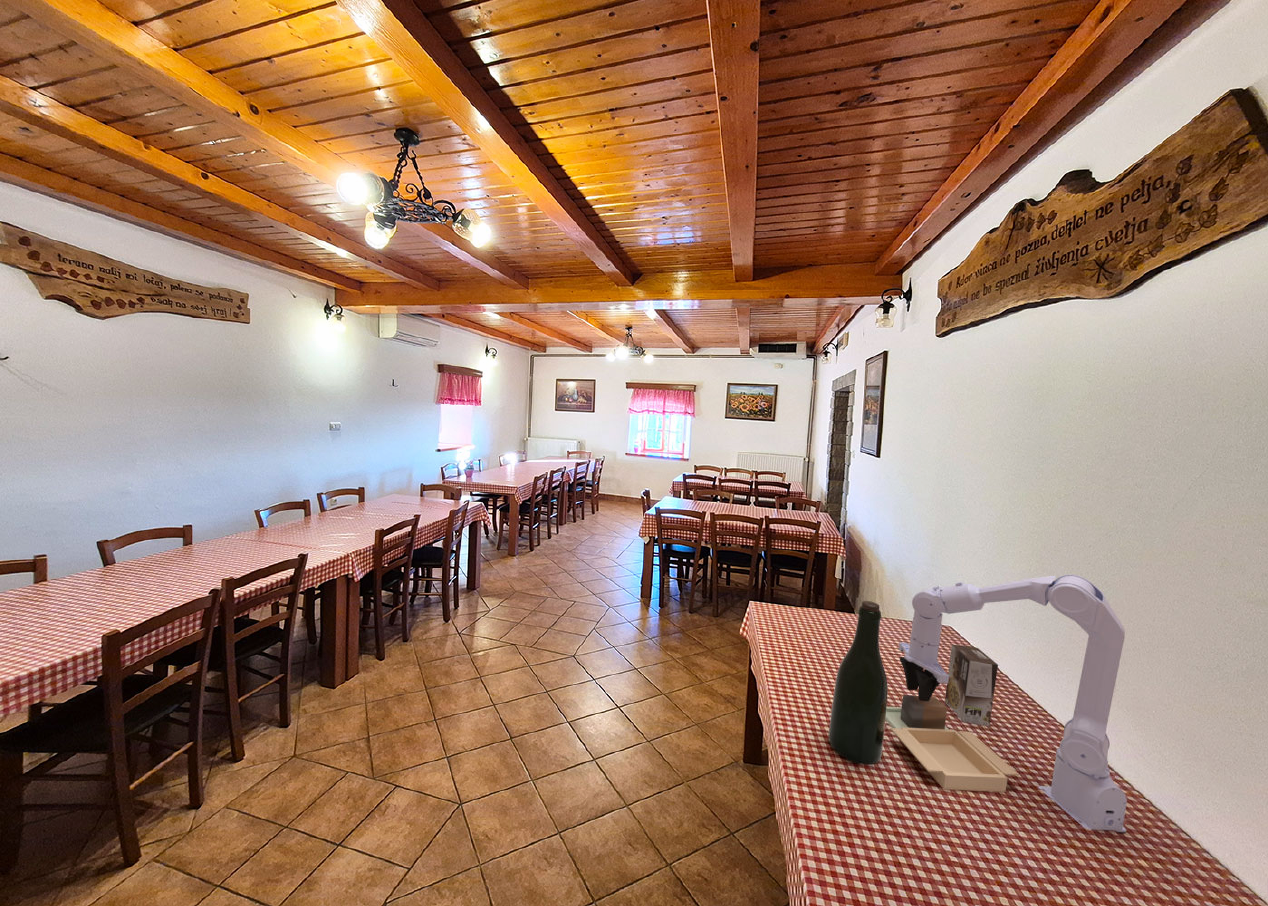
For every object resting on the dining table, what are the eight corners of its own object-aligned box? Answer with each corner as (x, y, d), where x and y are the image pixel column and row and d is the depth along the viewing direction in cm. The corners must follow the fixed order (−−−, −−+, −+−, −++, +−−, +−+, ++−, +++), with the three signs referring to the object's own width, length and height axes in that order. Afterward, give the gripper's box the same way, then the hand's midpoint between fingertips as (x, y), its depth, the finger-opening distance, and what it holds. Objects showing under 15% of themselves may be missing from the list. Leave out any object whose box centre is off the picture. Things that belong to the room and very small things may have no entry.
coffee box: (990, 729, 108) (999, 665, 107) (961, 723, 109) (969, 660, 108) (970, 706, 117) (978, 647, 116) (943, 701, 118) (951, 642, 117)
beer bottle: (851, 770, 91) (869, 614, 89) (817, 735, 101) (833, 594, 99) (892, 763, 94) (911, 612, 91) (855, 729, 104) (871, 592, 101)
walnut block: (944, 732, 104) (947, 707, 104) (911, 730, 104) (914, 705, 104) (931, 720, 109) (935, 696, 108) (900, 718, 108) (903, 694, 108)
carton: (1019, 795, 88) (1022, 777, 88) (929, 791, 87) (931, 773, 87) (965, 745, 101) (967, 729, 101) (886, 741, 101) (888, 725, 100)
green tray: (955, 742, 102) (956, 736, 102) (901, 740, 101) (901, 734, 101) (925, 713, 112) (926, 708, 112) (875, 711, 111) (876, 706, 111)
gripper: (889, 624, 112) (883, 676, 113) (930, 655, 98) (922, 713, 99) (916, 626, 112) (910, 677, 113) (960, 657, 98) (953, 715, 99)
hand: (917, 694), depth 106 cm, fingers open, 4 cm apart
